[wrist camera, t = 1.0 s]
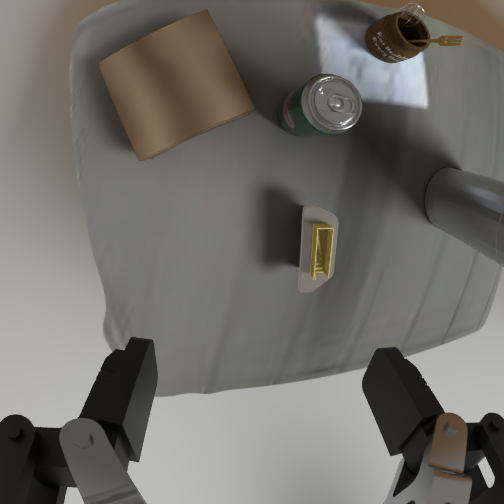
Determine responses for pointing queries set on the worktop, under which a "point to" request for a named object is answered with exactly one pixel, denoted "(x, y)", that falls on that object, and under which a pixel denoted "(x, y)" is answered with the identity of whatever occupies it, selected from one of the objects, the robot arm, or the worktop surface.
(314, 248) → the grey flat gold-topped slab
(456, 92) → the worktop surface
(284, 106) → the soda can
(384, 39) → the utensil holder
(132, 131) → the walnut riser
